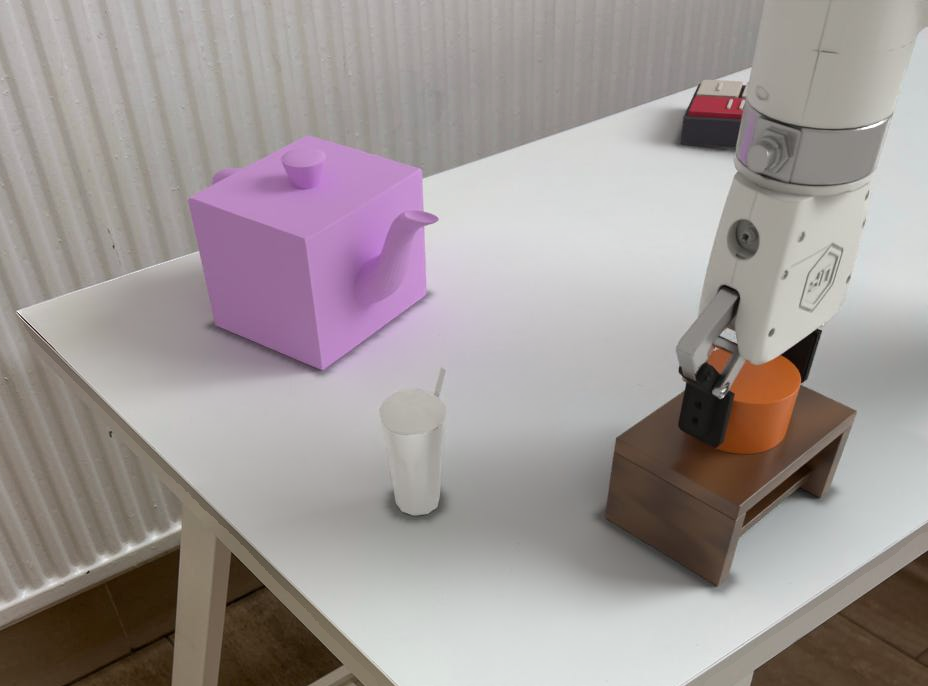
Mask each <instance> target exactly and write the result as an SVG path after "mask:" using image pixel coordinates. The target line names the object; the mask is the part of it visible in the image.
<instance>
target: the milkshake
mask: <svg viewBox="0 0 928 686" xmlns="http://www.w3.org/2000/svg"><path fill="white" fill-rule="evenodd" d="M446 373H447V369H445V368H444V367H440V370H439V373H438V378H437V381H436V385H435V388H434V392H430V391H427V390H424V389H421V388H407V389H403V390H398V391H397V392H395V393H393V394H392V395H390V396H388V397H387V398H386V399H384V400H383V402H381V404H380V407H379V419H380V425H381V428H382V433H383V438H384V442H385V443H384V444H385V448H386V454H387V459H388V465H389V472H390V477H391V482H392V483H391V484H392V490H393V494H394V500H395V504H396V505H397V508H399V509H400V511H401V512H402V513H405V514H409V515H411V516H413V517H415V516H423V515H428V514H430V513H432V512H433V511H434V510H436V509H437V508H438V506H439V502H440V498H441V483H442V463H443V448H444V438H445V429H446V419H447V407H446V404H445V402H444V401H443V400H442V399H441V398H440V394H441V390H442V386H443V384H444V380H445V376H446Z"/></svg>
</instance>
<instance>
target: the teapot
mask: <svg viewBox="0 0 928 686" xmlns="http://www.w3.org/2000/svg"><path fill="white" fill-rule="evenodd" d="M211 178H212V179H211V185H210V186H208V187H206V188H204V189H203V190H201V191H199V192H197V193H195V194H193V195H192V196H190V197H189V198H188V199H187V203H188V207H189V212H190V217H191V222H192V225H193V230H194V235H195V238H196V244H197V249H198V253H199V258H200V262H201V266H202V270H203V276H204V280H205V284H206V289H207V293H208V298H209V304H210V306H211V307H210V308H211V311H212V316H213V320H214V325H215V326H217V328H221V329H223V330H226V331H227V332H230V333H233V334H235V335H237V336H240V337H242V338H245V339H247V340H250V341H252V342H254V343H256V344H259V345H261V346H264V347H265V348H267V349H271V350H273V351H275V352H278V353H280V354H281V355H282V354H283V355H285V356H286V357H290V358H292V359H294V360H296V361H299V362H301V363H303V364H305V365H309V366H311V367H312V368H315V369H317V370H320V371H325V370H326V369H327V368H329V367H330V366H331V365H333V364H334V363H335V362H337V361H338V360H339V359H341V358H342V357H343V356H345V355H346V354H348V353H349V352H350V351H352V350H353V349H354V348H356V347H357V346H358V345H360V344H361V343H363V342H364V341H366V340H368V338H370V337H371V336H372V335H374V334H375V333H377V332H378V331H379V330H381V329H382V328H383V327H385V326H386V325H388V324H389V323H390V322H392V321H393V320H394V319H396V318H397V317H399V316H400V315H401V314H403V313H404V312H406V311H407V310H408V309H409V308H411V307H412V306H414V305H415V304H417V303H418V301H420V300H422V299H423V298H424V297H425V296H427V288H428V287H427V266H426V238H425V235H426V234H425V227H427V226H430V225H434V224H436V223H438V221H440V219H439V217H438V216H437V215H435V214H433V213H430V212H426V211H424V209H425V208H424V184H423V170H422V168H420V167H417V166H414V165H413V166H412V165H411V164H406V163H403V162H400V161H397V160H393V159H390V158H387V157H383V156H380V155H377V154H373V153H371V152H367V151H363V150H360V149H357V148H354V147H350V146H347V145H344V144H340V143H337V142H333V141H330V140H326V139H323V138H321V137H316V136H314V135H310V134H307V135H304V136H303V137H301V138H299V139H297V140H295V141H293V142H291V143H289V144H287V145H286V146H283V147H282V148H280V149H278V150H276V151H274V152H273V153H270V154H269V155H266V156H265V157H263V158H261V159H258V160H257V161H255V162H253V163H251V164H249V165H247V166H245V167H244V168H242V167H226V168H223V169H221V170H219V171H217V172H216V173H214V175H213V176H212V177H211Z"/></svg>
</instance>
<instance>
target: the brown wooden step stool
mask: <svg viewBox="0 0 928 686" xmlns="http://www.w3.org/2000/svg"><path fill="white" fill-rule="evenodd" d="M684 391H685V389H684V390H683V391H682V392H679V394H678V395H675V396H674V397H672V398H671V399H670V400H669V401H666V403H664V404H663V405H661V406H660V407H658V408H657V409H656V410H654V411H652V412H651V413H650V414H648V415H647V416H645V417H644V418H643V419H641V420H640V421H638V422H637V423H635V424H634V425H631V427H630V428H628V429H627V430H625V431H623V432H621V434H619V435H618V436H616V437H615V441H614V449H613V455H612V460H611V469H610V477H609V484H608V491H607V496H606V497H607V498H606V505H605V513H604V518H605V519H606V520H608V521H610V522H612V523H613V524H614V525H616V526H618V527H620V528H621V529H623V530H625V531H626V532H628V533H629V534H631V535H632V536H634V537H636V538H637V539H639V540H640V541H642V542H644V543H646V544H648V545H649V546H651V547H652V548H654V549H656V550H657V551H659V552H660V553H662V554H664V555H666V556H667V557H669V558H671V559H672V560H674V561H675V562H676V563H678V564H680V565H682V566H683V567H685V568H687V569H689V570H691V571H692V572H693V573H695V574H696V575H698V576H699V577H702V578H703V579H705V580H707V581H708V582H710V583H712V584H713V585H715V586H716V587H718V586H720V585H721V584H722V583H723V582H725V581H726V580H727V579H728V578H729V575H730V571H731V567H732V564H733V561H734V557H735V553H736V550H737V546H738V544H739V539H740V538H741V537H742V536H743V535H744V534H745V533H747V532H748V531H749V530H750V529H751V528H753V527H754V526H755V525H756V524H758V523H759V522H760V521H761V520H762V519H763V518H764V517H766V516H767V515H768V514H769V513H771V512H772V511H773V510H774V509H775V508H777V507H778V505H780V504H781V503H782V502H784V501H785V500H786V499H787V498H789V496H791V495H792V494H793V493H795V491H797V490H798V489H799V488H800V489H802V490H803V491H806V492H808V493H809V494H811V495H813V496H815V497H817V498H819V499H820V498H822V497H823V496H825V495H826V494H827V493H828V492H829V491H830V488H831V486H832V483H833V480H834V477H835V475H836V473H837V469H838V466H839V463H840V460H841V459H842V455H843V453H844V450H845V447H846V444H847V442H848V438H849V436H850V433H851V430H852V429H853V428H852V427H853V424H854V422H855V419H856V416H857V413H858V411H857V410H856V409H854V408H852V407H850V406H848V405H846V404H843V403H841V402H839V401H837V400H835V399H833V398H831V397H829V396H826V395H825V394H822V393H820V392H818V391H816V390H813V389H812V388H810V387H807V386H805V385H803V384H802V383H801V384H800V388H799V391H798V395H797V398H796V401H795V405H794V408H793V411H792V415H791V418H790V421H789V425H788V428H787V431H786V435H785V437H784V439H783V440H782V441H781V442H780V443H779V444H778V445H777V446H775V447H774V448H772V449H769V450H767V451H764V452H760V453H753V454H736V453H730V452H725V451H721V450H718V449H715V448H713V447H711V446H709V445H707V444H705V443H703V442H702V441H700V440H698V439H696V438H694V437H692V436H691V435H689V434H687V433H685V432H683V431H681V430H680V429H679V427H678V422H679V417H680V412H681V406H682V401H683V396H684Z"/></svg>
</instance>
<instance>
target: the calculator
mask: <svg viewBox="0 0 928 686" xmlns="http://www.w3.org/2000/svg"><path fill="white" fill-rule="evenodd" d="M743 83H744V81H742V80H722V79H721V80H720V79H703V80H702V81H701V83H698V84H697V87H696V89H695V90H694V93H693V96H692V98H691V100H690V102H689V104H688V106H687V108H686V111H685V113H684V114H683V118H682V125H681V134H680V144H682V145H687V146H702V147H703V146H705V147H720V148H735V149H736V145H737V140H738V135H739V130H740V124H741V119H742V114H743V109H744V104H745V99H746V95H747V89H748V84H749V81H747V82H746V84H743Z"/></svg>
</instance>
